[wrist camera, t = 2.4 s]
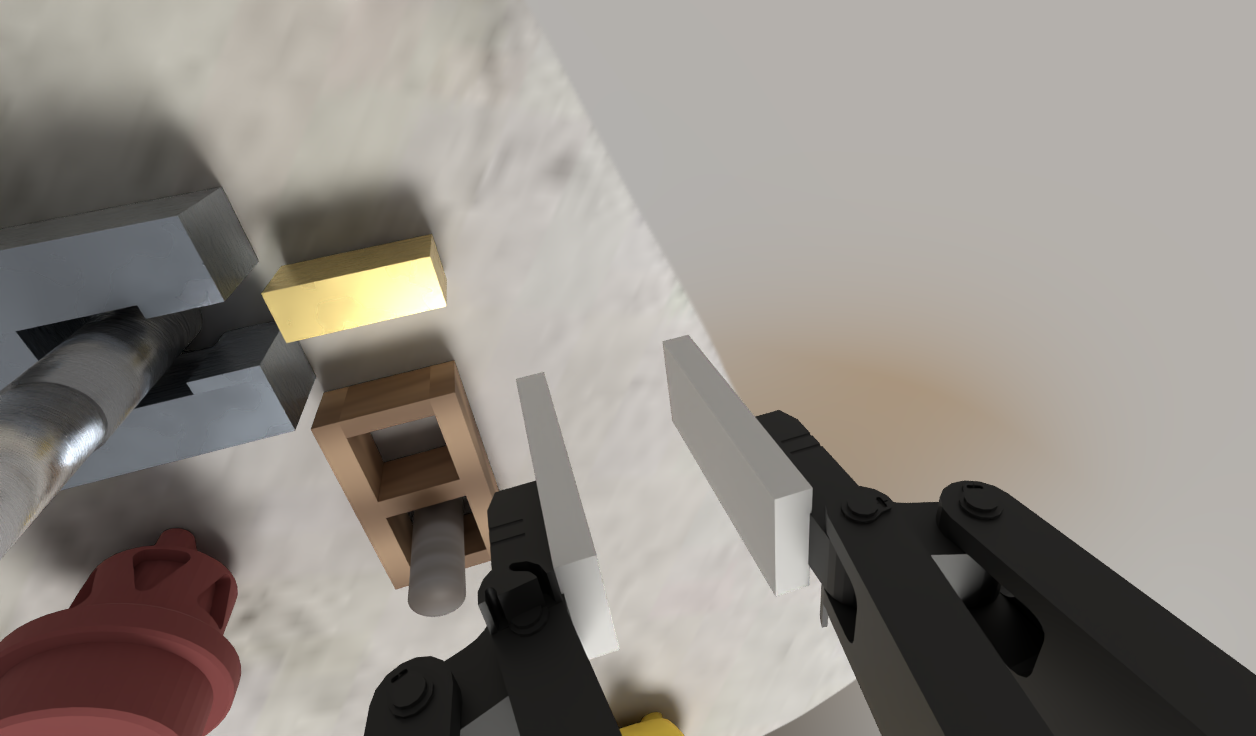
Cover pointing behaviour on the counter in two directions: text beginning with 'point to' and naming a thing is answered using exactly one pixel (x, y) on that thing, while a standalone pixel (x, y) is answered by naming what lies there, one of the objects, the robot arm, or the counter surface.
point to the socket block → (158, 284)
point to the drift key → (356, 288)
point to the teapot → (652, 727)
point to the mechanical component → (128, 650)
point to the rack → (413, 481)
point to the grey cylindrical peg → (78, 404)
